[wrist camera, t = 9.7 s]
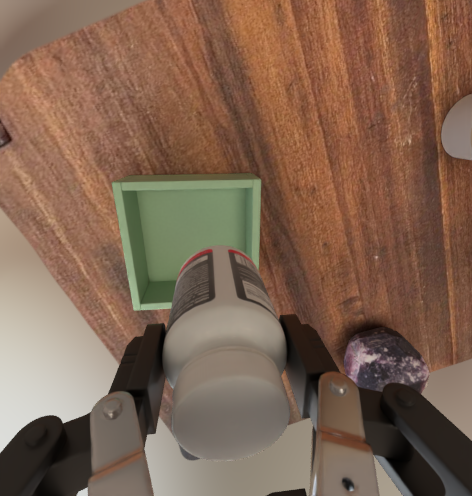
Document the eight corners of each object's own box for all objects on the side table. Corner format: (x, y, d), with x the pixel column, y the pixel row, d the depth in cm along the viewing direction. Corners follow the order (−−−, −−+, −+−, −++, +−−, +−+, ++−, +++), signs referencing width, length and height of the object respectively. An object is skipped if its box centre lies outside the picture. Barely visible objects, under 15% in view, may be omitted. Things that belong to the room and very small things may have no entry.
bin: (144, 285, 34) (133, 310, 29) (128, 175, 29) (111, 182, 24) (250, 279, 35) (258, 303, 30) (252, 173, 30) (261, 179, 25)
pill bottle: (183, 319, 19) (161, 486, 10) (171, 247, 17) (130, 371, 8) (260, 310, 19) (309, 462, 10) (257, 238, 17) (316, 348, 8)
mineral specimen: (379, 388, 43) (401, 442, 33) (325, 346, 44) (331, 386, 34) (426, 347, 40) (463, 392, 30) (367, 303, 41) (385, 333, 32)
